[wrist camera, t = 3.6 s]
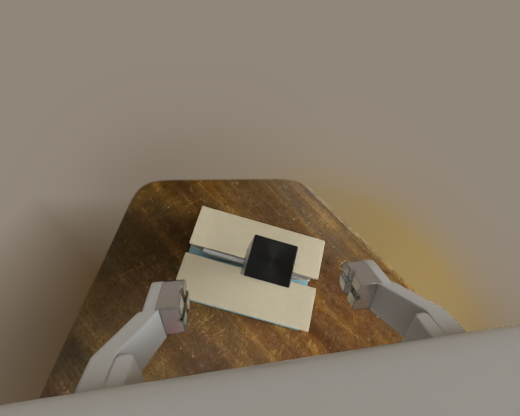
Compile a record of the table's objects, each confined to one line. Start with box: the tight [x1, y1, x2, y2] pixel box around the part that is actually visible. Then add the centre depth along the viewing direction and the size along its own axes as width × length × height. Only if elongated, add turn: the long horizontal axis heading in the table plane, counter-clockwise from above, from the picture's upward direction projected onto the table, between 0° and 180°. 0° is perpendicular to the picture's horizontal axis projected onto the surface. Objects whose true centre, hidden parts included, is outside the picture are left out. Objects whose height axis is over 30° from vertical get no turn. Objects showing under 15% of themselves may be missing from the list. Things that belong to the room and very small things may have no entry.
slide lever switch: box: [176, 206, 325, 332], centre depth 24 cm, size 14×10×7 cm
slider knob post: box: [203, 235, 310, 288], centre depth 16 cm, size 8×2×13 cm, turn 75°
